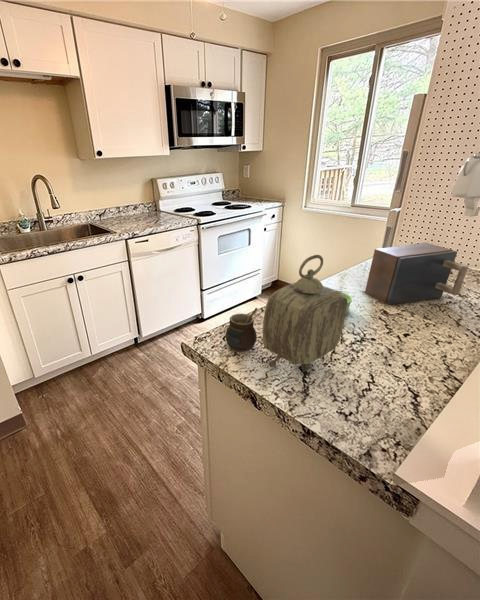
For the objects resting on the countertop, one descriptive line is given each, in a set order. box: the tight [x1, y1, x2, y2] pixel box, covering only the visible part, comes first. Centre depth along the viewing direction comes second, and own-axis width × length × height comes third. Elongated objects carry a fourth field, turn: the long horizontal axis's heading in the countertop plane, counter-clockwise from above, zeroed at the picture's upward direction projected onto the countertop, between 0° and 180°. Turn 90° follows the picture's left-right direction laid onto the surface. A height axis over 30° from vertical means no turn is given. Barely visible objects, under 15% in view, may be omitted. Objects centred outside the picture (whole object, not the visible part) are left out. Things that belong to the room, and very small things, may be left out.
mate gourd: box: [224, 307, 259, 353], centre depth 74 cm, size 7×8×10 cm
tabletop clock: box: [262, 254, 347, 370], centre depth 63 cm, size 14×9×25 cm, turn 120°
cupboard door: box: [386, 250, 469, 305], centre depth 83 cm, size 6×16×14 cm, turn 96°
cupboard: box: [364, 242, 454, 304], centre depth 90 cm, size 8×16×14 cm, turn 96°
